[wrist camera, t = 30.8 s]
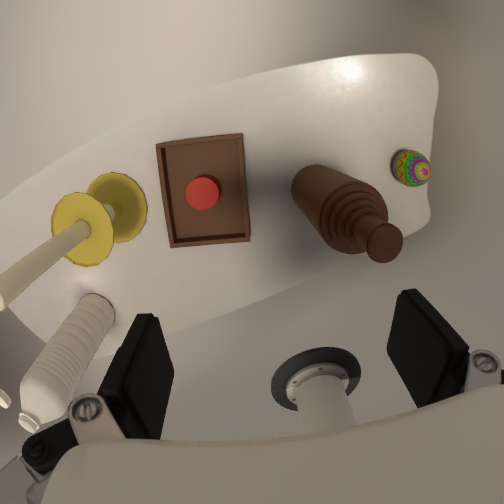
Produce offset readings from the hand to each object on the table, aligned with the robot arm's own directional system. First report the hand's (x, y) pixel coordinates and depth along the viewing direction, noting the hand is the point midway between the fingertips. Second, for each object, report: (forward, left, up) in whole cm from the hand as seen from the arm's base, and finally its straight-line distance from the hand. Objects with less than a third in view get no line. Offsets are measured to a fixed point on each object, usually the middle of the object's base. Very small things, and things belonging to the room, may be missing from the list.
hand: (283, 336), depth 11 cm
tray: (+1, +6, -28) cm, 29 cm away
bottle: (0, -8, -28) cm, 29 cm away
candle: (0, +19, -28) cm, 34 cm away
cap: (+1, +6, -28) cm, 28 cm away
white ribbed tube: (-15, +27, -28) cm, 42 cm away
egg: (+3, -21, -28) cm, 36 cm away
